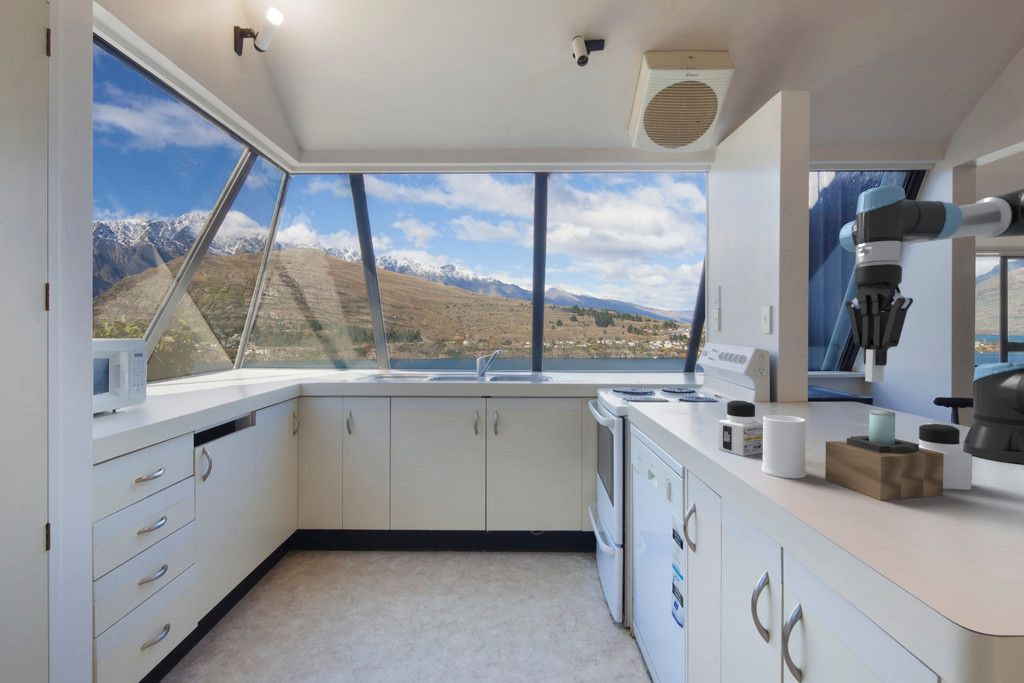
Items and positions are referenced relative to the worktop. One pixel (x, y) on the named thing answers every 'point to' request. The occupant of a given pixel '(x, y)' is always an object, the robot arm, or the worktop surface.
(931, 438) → the medicine bottle
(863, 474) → the socket block
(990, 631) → the worktop surface
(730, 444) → the container
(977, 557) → the worktop surface
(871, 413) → the peg
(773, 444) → the mug
